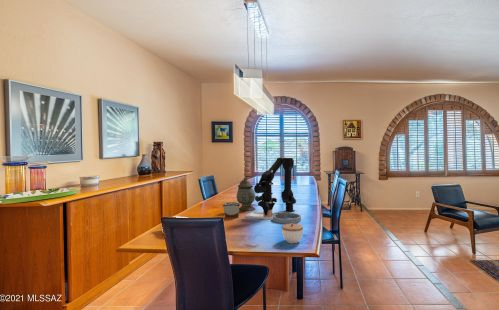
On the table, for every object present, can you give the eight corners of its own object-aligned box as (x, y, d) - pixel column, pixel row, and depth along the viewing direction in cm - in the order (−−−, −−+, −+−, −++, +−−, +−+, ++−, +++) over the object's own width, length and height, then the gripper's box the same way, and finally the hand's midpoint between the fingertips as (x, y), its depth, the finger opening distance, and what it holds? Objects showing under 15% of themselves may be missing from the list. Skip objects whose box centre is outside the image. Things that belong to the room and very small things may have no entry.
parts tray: (254, 213, 221) (253, 211, 221) (278, 215, 212) (278, 213, 212) (245, 217, 209) (245, 215, 209) (270, 220, 200) (270, 217, 200)
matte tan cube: (266, 215, 211) (266, 209, 211) (272, 216, 209) (272, 209, 209) (263, 217, 207) (263, 210, 207) (269, 217, 205) (269, 211, 205)
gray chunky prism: (280, 218, 203) (280, 211, 203) (287, 218, 201) (286, 212, 201) (277, 219, 199) (277, 212, 199) (284, 220, 197) (284, 213, 197)
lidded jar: (280, 238, 160) (279, 220, 160) (300, 237, 161) (299, 220, 161) (284, 245, 150) (283, 226, 150) (305, 244, 151) (305, 225, 150)
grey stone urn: (253, 212, 225) (253, 178, 224) (235, 211, 228) (234, 178, 227) (257, 208, 239) (256, 176, 238) (239, 208, 241) (238, 176, 241)
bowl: (279, 216, 211) (279, 211, 211) (304, 218, 202) (304, 214, 202) (268, 222, 195) (268, 217, 195) (295, 225, 186) (295, 220, 186)
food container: (241, 216, 213) (241, 201, 213) (240, 218, 207) (240, 203, 207) (224, 216, 215) (223, 202, 214) (222, 218, 209) (222, 203, 208)
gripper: (262, 189, 220) (263, 210, 220) (250, 193, 203) (251, 216, 204) (276, 189, 214) (277, 211, 215) (265, 194, 198) (266, 217, 198)
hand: (267, 214), depth 208 cm, fingers open, 6 cm apart
